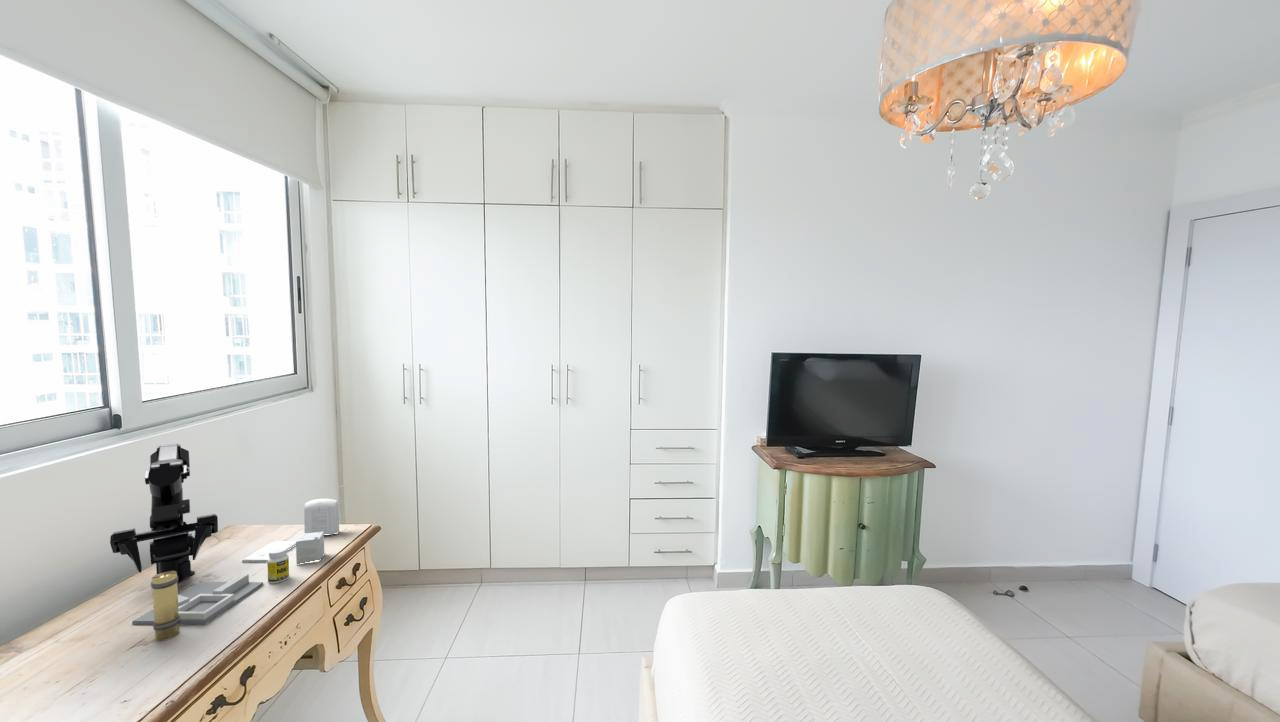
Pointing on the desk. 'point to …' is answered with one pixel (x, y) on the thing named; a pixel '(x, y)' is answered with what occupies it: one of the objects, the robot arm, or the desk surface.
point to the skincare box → (309, 547)
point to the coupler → (165, 605)
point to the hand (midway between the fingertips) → (167, 565)
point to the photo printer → (321, 516)
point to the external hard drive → (263, 553)
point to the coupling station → (207, 600)
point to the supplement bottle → (278, 565)
